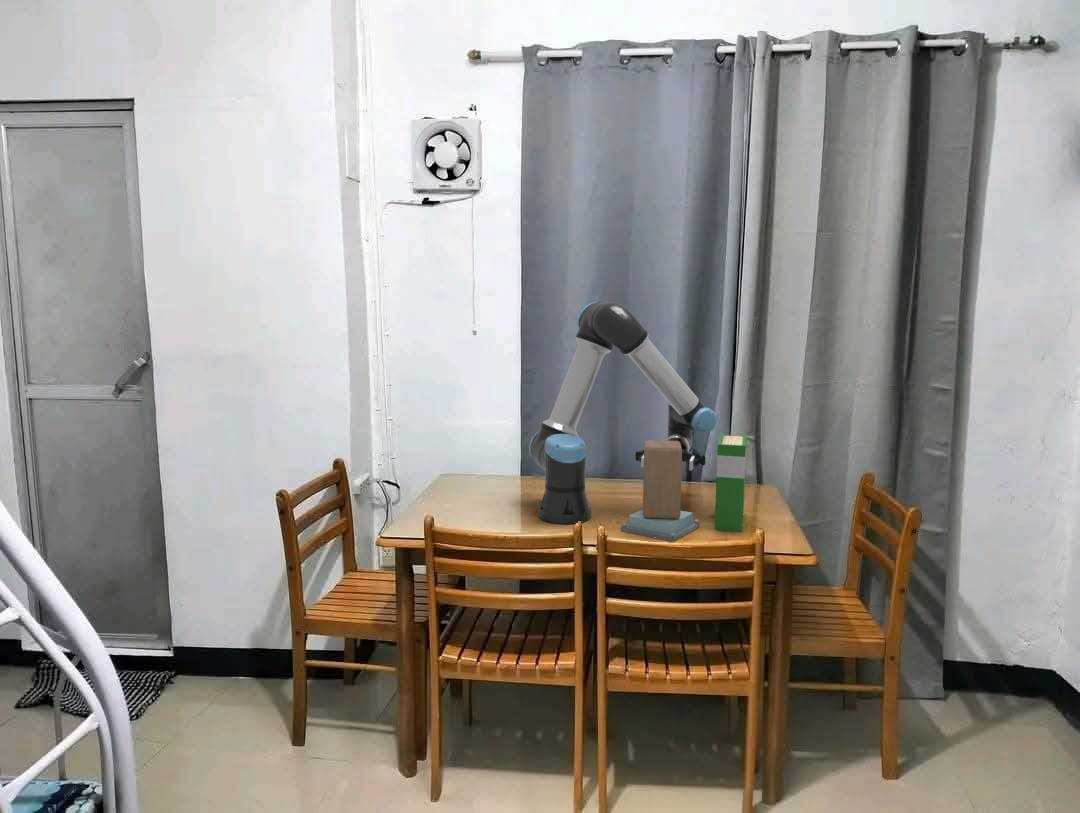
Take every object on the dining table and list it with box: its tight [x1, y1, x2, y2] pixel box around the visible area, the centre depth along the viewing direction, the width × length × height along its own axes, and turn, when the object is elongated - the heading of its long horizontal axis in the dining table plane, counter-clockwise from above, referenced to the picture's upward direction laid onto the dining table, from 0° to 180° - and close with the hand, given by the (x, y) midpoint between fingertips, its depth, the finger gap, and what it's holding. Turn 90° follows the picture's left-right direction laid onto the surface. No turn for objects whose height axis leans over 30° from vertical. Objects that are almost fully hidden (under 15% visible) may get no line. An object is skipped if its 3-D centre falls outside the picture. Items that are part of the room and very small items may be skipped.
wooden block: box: [642, 439, 683, 519], centre depth 219 cm, size 10×10×20 cm
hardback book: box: [714, 432, 748, 533], centre depth 226 cm, size 18×7×24 cm, turn 165°
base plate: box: [620, 508, 701, 542], centre depth 221 cm, size 16×16×4 cm
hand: (666, 464), depth 225 cm, fingers open, 13 cm apart
